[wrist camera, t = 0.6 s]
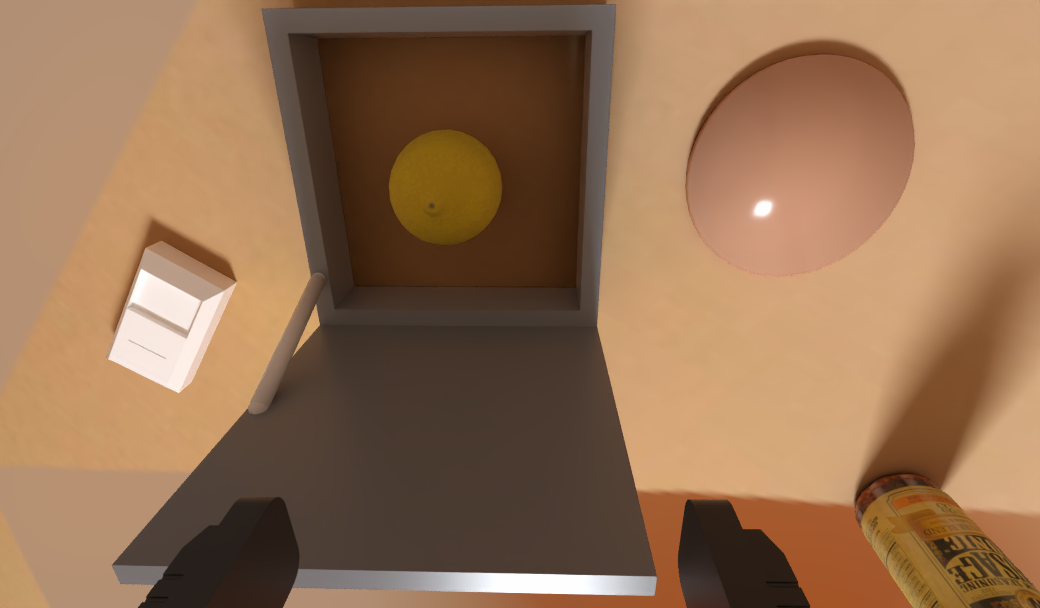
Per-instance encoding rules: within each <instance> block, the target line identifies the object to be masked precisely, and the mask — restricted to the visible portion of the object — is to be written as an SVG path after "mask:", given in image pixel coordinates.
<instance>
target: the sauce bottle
mask: <svg viewBox="0 0 1040 608" xmlns="http://www.w3.org/2000/svg"><path fill="white" fill-rule="evenodd" d="M855 506H856V507H855V508H856V510H855V512H856V520H857V522H858V524H859V526H860V527H861V529H862V530H863V533H864V535H865V537H866V538H867V540H868V541H869V543H870V544H871V546H872V547H873V549H874V550H875V551H876V553H877V554H878V556H879V557H880V559H881V560H882V562H883V563H884V565H885V566H886V568H887V569H888V571H889V572H890V574H891V575H892V577H893V578H894V580H895V581H896V583H897V584H898V586H899V587H900V589H901V590H902V592H903V593H904V595H905V596H906V598H907V599H908V601H909V602H910V604H911V605H912V607H913V608H1040V592H1039V591H1038V590H1037V589H1036V588H1035V586H1034V585H1033V584H1032V583H1031V582H1030V581H1029V580H1028V579H1027V578H1026V577H1025V576H1024V575H1023V573H1022V572H1021V571H1020V570H1019V569H1018V568H1017V567H1016V566H1015V565H1014V564H1013V563H1012V562H1011V561H1010V560H1009V559H1008V558H1007V557H1006V556H1005V554H1004V553H1003V552H1002V551H1001V550H1000V549H999V548H998V547H997V546H996V545H995V544H994V543H993V542H992V541H991V540H990V538H989V537H988V536H986V534H985V533H984V532H983V531H982V530H981V529H980V528H979V527H978V526H977V525H976V523H975V522H974V521H973V520H972V519H971V518H970V517H969V516H968V515H967V514H966V513H965V512H964V511H963V510H962V509H961V507H960V506H959V505H958V504H957V503H956V502H955V501H954V500H953V499H952V498H951V497H950V496H949V495H948V494H946V493H945V492H943V491H942V490H941V489H940V488H939V487H938V486H937V485H935V484H933V483H932V482H931V481H930V480H928V479H927V478H925V477H923V476H919V475H916V474H898V475H894V476H885V477H881V478H879V479H878V480H875V481H874V482H873V483H872V485H870V486H869V487H867V488H866V489H865V490H864V491H863V492H862V493H861V495H860V496H859V498H858V499H857V502H856V505H855Z"/></svg>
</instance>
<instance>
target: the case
mask: <svg viewBox="0 0 1040 608" xmlns="http://www.w3.org/2000/svg"><path fill="white" fill-rule="evenodd" d="M262 13H263V19H264V24H265V30H266V35H267V40H268V46H269V51H270V57H271V62H272V68H273V73H274V78H275V84H276V89H277V95H278V100H279V105H280V111H281V116H282V122H283V127H284V132H285V138H286V143H287V149H288V154H289V159H290V165H291V170H292V176H293V181H294V186H295V192H296V197H297V203H298V208H299V214H300V219H301V224H302V230H303V235H304V241H305V246H306V251H307V257H308V262H309V268H310V273H311V278H310V280H309V282H308V284H307V286H306V288H305V290H304V292H303V294H302V296H301V298H300V300H299V303H298V305H297V307H296V309H295V311H294V313H293V315H292V317H291V319H290V321H289V323H288V325H287V327H286V329H285V331H284V333H283V336H282V338H281V340H280V342H279V344H278V346H277V348H276V350H275V352H274V354H273V356H272V358H271V360H270V362H269V364H268V366H267V369H266V371H265V373H264V375H263V377H262V379H261V381H260V383H259V385H258V387H257V389H256V391H255V393H254V395H253V397H252V400H251V402H250V404H249V406H248V409H247V410H246V411H245V412H244V413H243V415H242V416H241V417H240V418H239V419H238V420H237V421H236V423H235V424H234V425H233V426H232V427H231V428H230V430H229V431H228V432H227V433H226V434H225V435H224V436H223V438H222V439H221V440H220V441H219V442H218V443H217V445H216V446H215V447H214V448H213V449H212V450H211V451H210V453H209V454H208V455H207V456H206V457H205V458H204V460H203V461H202V462H201V463H200V464H199V465H198V466H197V468H196V469H195V470H194V471H193V472H192V473H191V475H190V476H189V477H188V478H187V479H186V480H185V481H184V483H183V484H182V485H181V486H180V487H179V488H178V490H177V491H176V492H175V493H174V494H173V496H171V498H170V499H169V500H168V501H167V502H166V503H165V505H164V506H163V507H162V508H161V509H160V510H159V511H158V513H157V514H156V515H155V516H154V517H153V518H152V520H151V521H150V522H149V523H148V524H147V526H145V528H144V529H143V530H142V531H141V532H140V533H139V534H138V536H137V537H136V538H135V539H134V540H133V541H132V543H131V544H130V545H129V546H128V547H127V548H126V550H125V551H124V552H123V553H122V554H121V555H120V556H119V558H118V559H117V560H116V561H115V562H114V563H113V565H112V567H113V569H114V571H115V573H116V575H117V577H118V580H119V581H120V584H145V585H149V584H150V585H155V584H156V583H157V581H158V580H161V579H162V577H163V573H164V572H165V570H166V569H167V568H168V566H169V565H170V564H171V562H172V561H173V560H174V558H175V557H176V556H177V554H178V553H179V551H180V550H181V549H182V548H183V547H184V546H185V545H186V544H187V543H188V542H190V541H191V540H192V539H193V538H194V537H196V536H197V535H198V534H199V533H200V532H202V531H203V530H204V529H205V528H206V527H208V526H209V525H219V524H220V522H221V521H222V520H223V518H224V517H225V515H226V514H227V512H228V511H229V509H230V508H231V507H232V505H233V504H234V503H235V502H236V501H237V500H238V499H239V498H242V497H280V498H282V499H283V500H284V502H285V504H286V507H287V511H288V514H289V517H290V521H291V524H292V527H293V531H294V534H295V537H296V541H297V544H298V548H299V554H300V560H299V568H298V573H297V577H296V580H295V582H294V585H293V587H292V588H327V589H331V588H332V589H375V590H417V591H418V590H419V591H421V590H422V591H464V592H466V591H467V592H508V593H510V592H511V593H556V594H603V595H648V596H654V593H655V586H656V580H657V575H656V570H655V567H654V563H653V558H652V554H651V550H650V546H649V541H648V537H647V533H646V529H645V525H644V521H643V516H642V513H641V508H640V504H639V500H638V496H637V491H636V487H635V483H634V479H633V475H632V471H631V466H630V462H629V458H628V454H627V450H626V446H625V441H624V437H623V433H622V429H621V425H620V421H619V416H618V412H617V408H616V404H615V400H614V396H613V391H612V387H611V383H610V379H609V375H608V371H607V366H606V362H605V358H604V354H603V350H602V346H601V341H600V337H599V333H598V329H597V318H598V301H599V285H600V268H601V251H602V234H603V217H604V200H605V184H606V167H607V150H608V133H609V116H610V99H611V83H612V66H613V49H614V32H615V15H616V4H597V5H517V6H438V7H358V8H279V9H262ZM582 35H586V40H585V66H584V91H583V117H582V142H581V168H580V193H579V219H578V244H577V269H576V287H354V281H353V274H352V267H351V261H350V254H349V247H348V241H347V234H346V227H345V221H344V214H343V207H342V201H341V194H340V187H339V181H338V174H337V167H336V161H335V154H334V147H333V141H332V134H331V127H330V120H329V114H328V107H327V100H326V94H325V87H324V80H323V74H322V67H321V60H320V54H319V47H318V40H317V38H396V37H489V36H582ZM315 305H317V311H318V316H319V322H320V326H319V327H318V328H317V329H316V330H315V332H314V333H313V334H312V335H311V336H310V337H309V338H308V340H307V341H306V342H305V343H304V344H303V345H302V347H301V348H300V349H299V350H298V351H297V352H296V353H295V355H294V356H293V354H294V351H295V349H296V347H297V345H298V342H299V340H300V338H301V336H302V334H303V331H304V329H305V327H306V325H307V322H308V320H309V318H310V316H311V313H312V311H313V309H314V307H315ZM292 356H293V357H292Z"/></svg>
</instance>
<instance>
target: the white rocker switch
mask: <svg viewBox="0 0 1040 608" xmlns="http://www.w3.org/2000/svg"><path fill="white" fill-rule="evenodd" d="M236 283H237V282H236V281H234V280H232V279H230V278H229V277H227V276H225V275H223V274H221V273H220V272H218V271H216V270H214V269H212V268H210V267H209V266H207V265H205V264H203V263H201V262H199V261H198V260H196V259H194V258H192V257H190V256H188V255H187V254H185V253H183V252H181V251H179V250H178V249H176V248H174V247H172V246H170V245H168V244H167V243H165V242H163V241H160V242H157V243H155V244H153V245H151V246H148V247H146V248H145V250H144V253H143V256H142V259H141V261H140V264H139V267H138V270H137V273H136V275H135V278H134V281H133V284H132V286H131V289H130V292H129V295H128V298H127V300H126V303H125V306H124V309H123V311H122V314H121V317H120V320H119V323H118V325H117V328H116V331H115V334H114V336H113V339H112V342H111V345H110V348H109V350H108V353H107V356H106V358H108V359H110V360H112V361H114V362H116V363H118V364H120V365H122V366H124V367H126V368H128V369H130V370H132V371H134V372H136V373H138V374H140V375H143V376H145V377H147V378H149V379H151V380H153V381H155V382H157V383H159V384H161V385H163V386H165V387H167V388H169V389H172V390H174V391H176V392H178V393H180V392H181V391H182V390H183V389H184V388H185V387H186V386H187V385H188V384H190V383H191V382H192V380H193V378H194V376H195V373H196V371H197V369H198V367H199V365H200V362H201V360H202V358H203V356H204V354H205V351H206V349H207V347H208V345H209V343H210V340H211V338H212V336H213V334H214V332H215V329H216V327H217V325H218V323H219V321H220V318H221V316H222V314H223V312H224V310H225V307H226V305H227V303H228V301H229V299H230V296H231V294H232V292H233V290H234V288H235V285H236Z"/></svg>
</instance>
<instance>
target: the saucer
mask: <svg viewBox="0 0 1040 608" xmlns="http://www.w3.org/2000/svg"><path fill="white" fill-rule="evenodd" d="M914 148H915V140H914V128H913V122H912V117H911V114H910V111H909V109H908V106H907V103H906V101H905V100H904V98H903V96H902V94H901V93H900V91H899V90H898V88H897V87H896V86H895V85H894V84H893V82H892V81H891V80H890V79H889V78H888V77H886V76H885V75H884V74H883V73H882V72H881V71H879V70H877V69H876V68H874V67H872V66H871V65H869V64H867V63H865V62H862V61H859V60H857V59H854V58H850V57H845V56H841V55H827V54H822V55H809V56H800V57H796V58H791V59H787V60H784V61H781V62H778V63H775V64H773V65H770V66H768V67H766V68H764V69H762V70H760V71H758V72H756V73H755V74H753V75H752V76H750V77H749V78H747V79H746V80H744V81H743V82H741V83H740V84H739V85H738V86H737V87H735V88H734V89H733V90H732V91H731V92H729V93H728V94H727V95H726V97H725V98H724V99H723V100H722V101H721V102H720V103H719V104H718V105H717V106H716V108H715V109H714V110H713V112H712V113H711V114H710V115H709V117H708V118H707V120H706V122H705V123H704V125H703V127H702V128H701V130H700V132H699V134H698V136H697V139H696V141H695V143H694V145H693V148H692V152H691V155H690V158H689V162H688V168H687V173H686V198H687V204H688V209H689V213H690V216H691V219H692V221H693V224H694V226H695V228H696V230H697V232H698V233H699V235H700V237H701V238H702V239H703V240H704V242H705V243H706V244H707V246H708V247H709V248H710V249H712V250H713V251H714V252H715V253H716V254H717V255H718V256H719V257H720V258H722V259H723V260H725V261H726V262H727V263H729V264H731V265H733V266H735V267H737V268H739V269H741V270H744V271H747V272H750V273H753V274H758V275H764V276H777V277H778V276H793V275H798V274H804V273H808V272H811V271H815V270H818V269H821V268H823V267H826V266H828V265H830V264H833V263H835V262H836V261H838V260H840V259H842V258H844V257H846V256H847V255H849V254H850V253H851V252H853V251H854V250H856V249H857V248H859V247H860V246H861V245H862V244H863V243H865V242H866V241H867V240H868V239H869V238H870V237H871V236H872V235H873V234H874V233H875V232H876V231H877V230H878V229H879V228H880V227H881V226H882V225H883V223H884V222H885V221H886V220H887V218H888V217H889V216H890V214H891V213H892V211H893V210H894V208H895V206H896V205H897V203H898V202H899V200H900V198H901V196H902V193H903V191H904V189H905V187H906V184H907V181H908V179H909V176H910V172H911V168H912V163H913V158H914Z"/></svg>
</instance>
